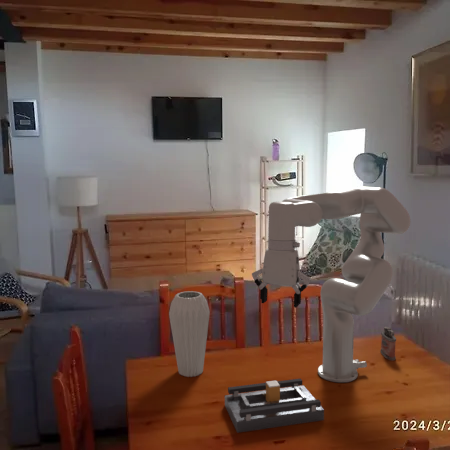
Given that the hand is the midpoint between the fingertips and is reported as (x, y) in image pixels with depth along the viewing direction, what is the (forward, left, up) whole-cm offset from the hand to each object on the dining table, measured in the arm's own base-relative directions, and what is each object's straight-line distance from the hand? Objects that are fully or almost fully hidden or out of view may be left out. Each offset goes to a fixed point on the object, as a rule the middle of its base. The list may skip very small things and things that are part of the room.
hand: (280, 304), depth 134 cm
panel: (+5, +8, -28) cm, 30 cm away
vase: (+23, -23, -28) cm, 43 cm away
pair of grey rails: (+5, +8, -25) cm, 27 cm away
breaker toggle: (+5, +8, -25) cm, 27 cm away
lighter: (-47, -18, -28) cm, 58 cm away
